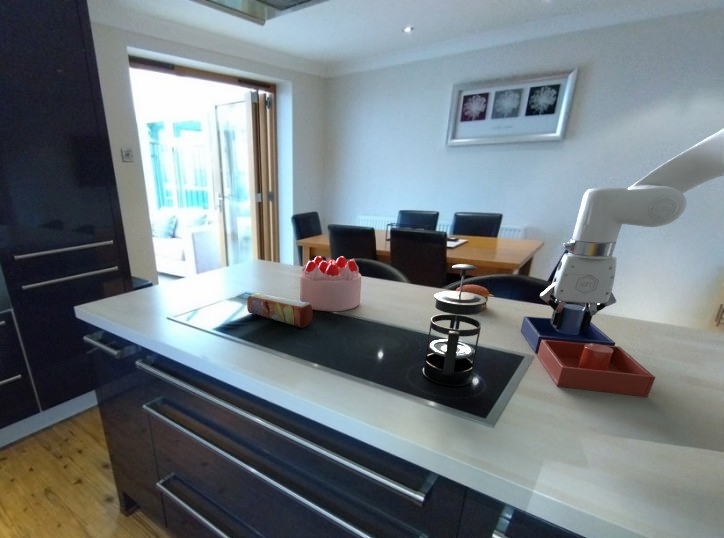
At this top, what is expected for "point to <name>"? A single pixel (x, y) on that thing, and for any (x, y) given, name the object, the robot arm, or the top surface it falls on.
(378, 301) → the top surface
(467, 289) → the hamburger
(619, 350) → the red bin
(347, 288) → the cake
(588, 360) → the red block
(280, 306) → the snack package
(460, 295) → the french press
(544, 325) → the blue bin
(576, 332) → the blue cylinder
